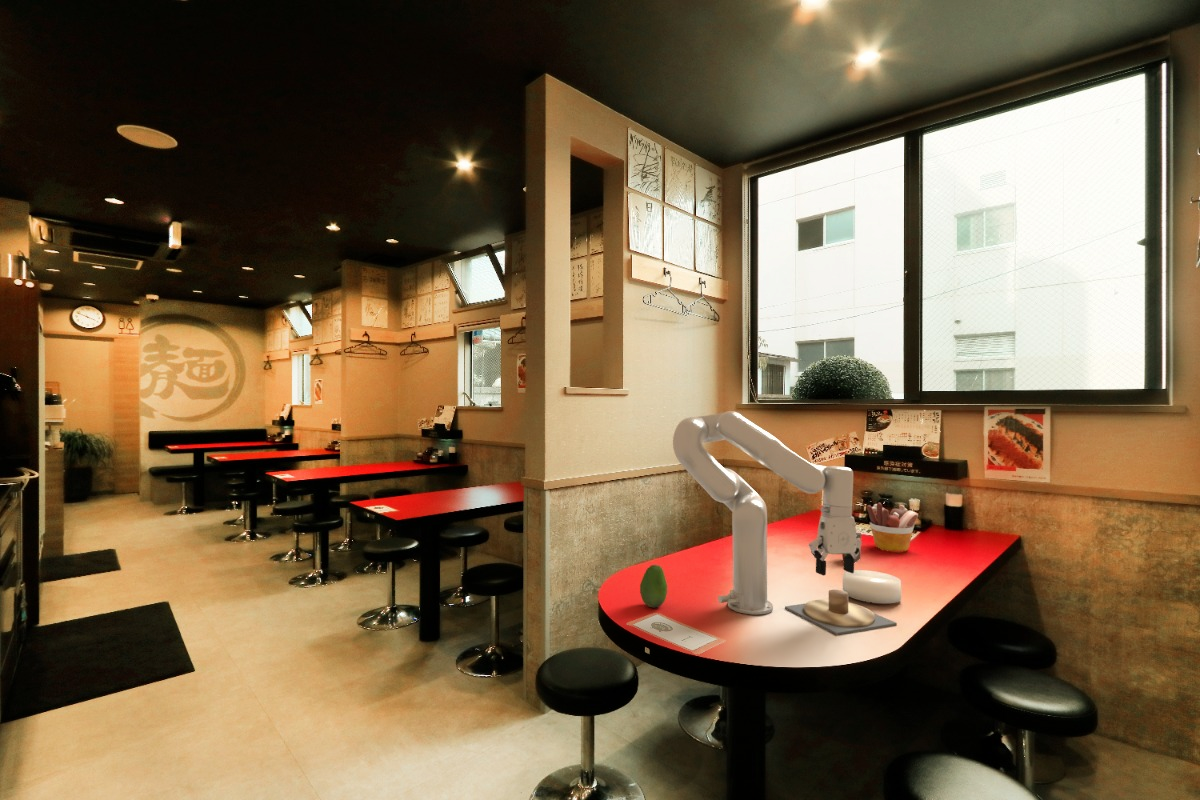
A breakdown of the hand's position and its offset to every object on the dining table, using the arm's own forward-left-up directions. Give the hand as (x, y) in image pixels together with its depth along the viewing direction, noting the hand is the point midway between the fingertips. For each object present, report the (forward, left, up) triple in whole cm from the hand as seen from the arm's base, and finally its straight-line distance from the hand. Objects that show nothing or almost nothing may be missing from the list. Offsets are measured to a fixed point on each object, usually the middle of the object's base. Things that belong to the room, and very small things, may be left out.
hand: (834, 572), depth 151 cm
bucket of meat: (+77, +51, -12) cm, 93 cm away
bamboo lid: (+1, -1, -11) cm, 11 cm away
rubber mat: (+1, -1, -12) cm, 12 cm away
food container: (+47, +43, -12) cm, 65 cm away
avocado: (-44, +23, -12) cm, 52 cm away
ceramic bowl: (+22, +8, -12) cm, 26 cm away
